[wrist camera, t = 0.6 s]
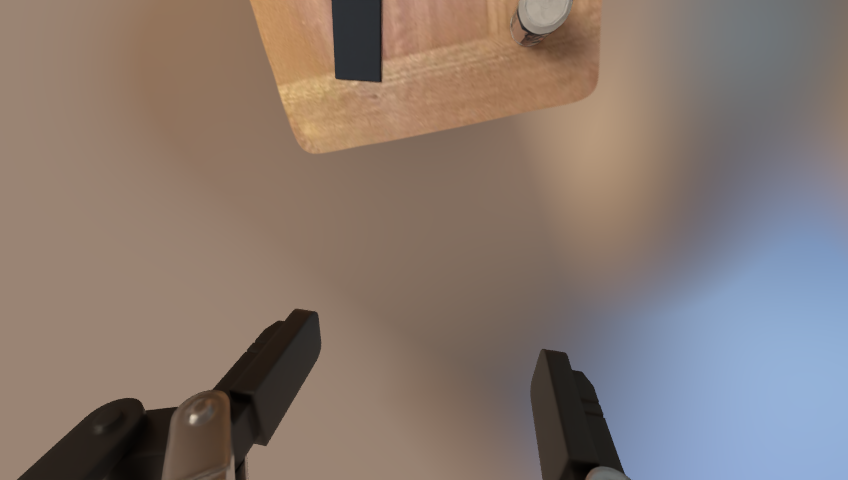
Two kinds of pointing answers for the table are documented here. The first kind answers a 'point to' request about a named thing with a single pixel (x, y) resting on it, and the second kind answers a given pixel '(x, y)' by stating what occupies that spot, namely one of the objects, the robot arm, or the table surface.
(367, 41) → the dark rectangular strip
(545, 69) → the table surface
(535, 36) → the beige cylinder
